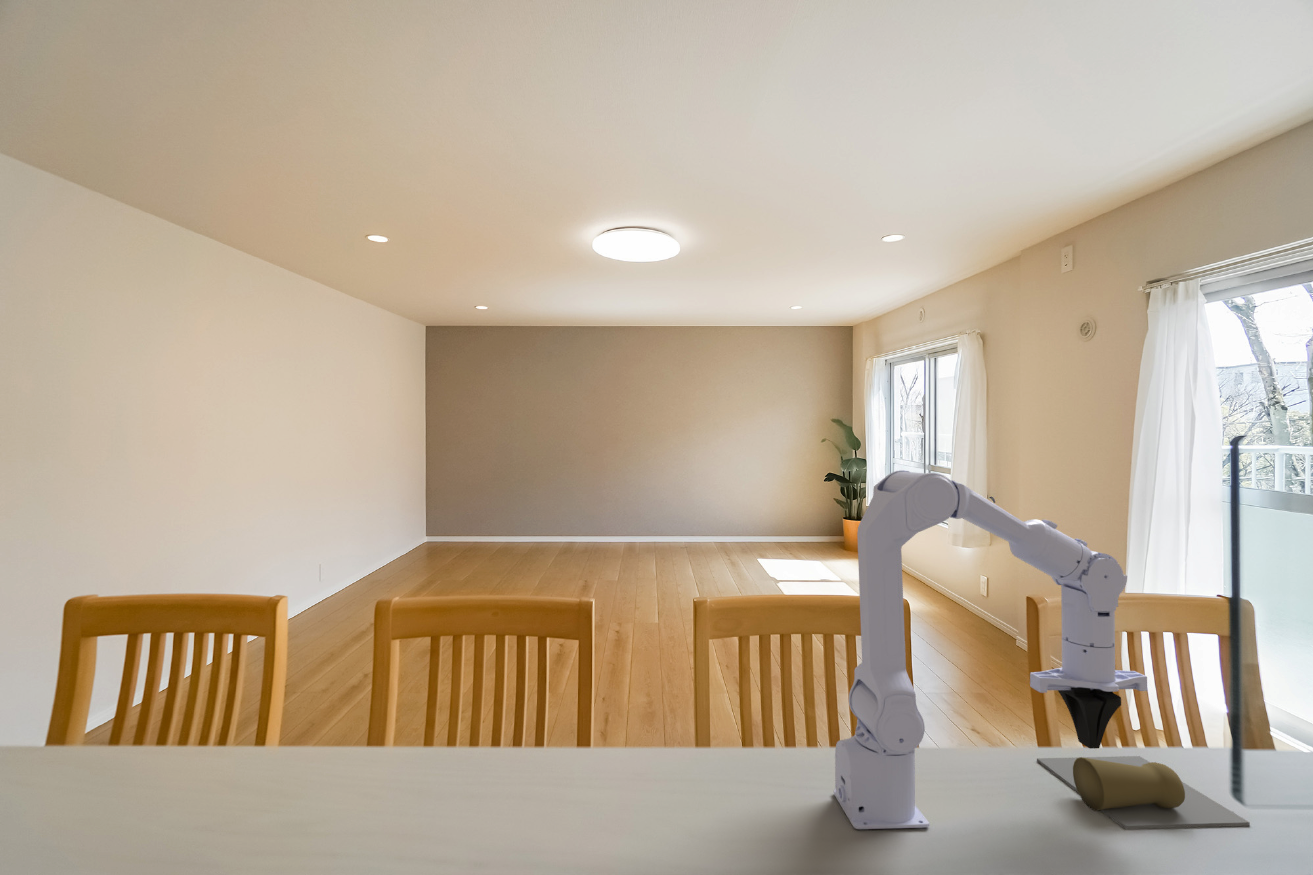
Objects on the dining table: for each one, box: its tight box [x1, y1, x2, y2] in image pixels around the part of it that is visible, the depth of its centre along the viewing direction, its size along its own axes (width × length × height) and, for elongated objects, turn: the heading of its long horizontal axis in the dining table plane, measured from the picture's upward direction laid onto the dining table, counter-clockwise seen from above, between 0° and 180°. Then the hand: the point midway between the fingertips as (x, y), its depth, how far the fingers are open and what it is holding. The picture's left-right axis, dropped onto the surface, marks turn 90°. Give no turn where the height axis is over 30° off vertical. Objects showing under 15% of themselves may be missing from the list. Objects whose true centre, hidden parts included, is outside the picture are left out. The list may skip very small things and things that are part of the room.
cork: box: [1073, 756, 1185, 811], centre depth 78 cm, size 6×6×11 cm
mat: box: [1036, 755, 1251, 830], centre depth 82 cm, size 16×16×1 cm
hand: (1088, 744), depth 78 cm, fingers closed
